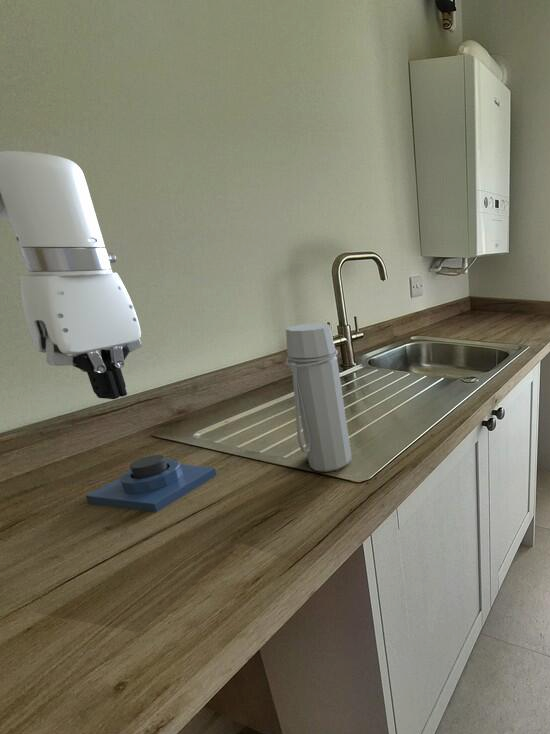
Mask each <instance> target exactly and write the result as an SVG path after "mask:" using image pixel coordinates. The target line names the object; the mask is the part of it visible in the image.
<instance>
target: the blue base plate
mask: <svg viewBox="0 0 550 734" xmlns="http://www.w3.org/2000/svg"><path fill="white" fill-rule="evenodd" d="M165 461H166V464H167V467H168V469H167V470H166V471H164V472H162V473H160V474H158V475H155V476H152V477H148V478H141V479H134V477H133V474H132V471H131V469H129V470H126V471H125V472H123V474H122V475H121V476H119V478H118V479H116V480H114V481H112V482H110V483H108V484H105V485H103V486H102V487H100V488H98V489H96V490H93V491H92V492H90V493H88V494H85V498H86V501H87V503H88V504H89V505H96V506H103V507H104V506H106V507H114V508H120V509H130V510H137V511H145V512H153V513H158V512H159V511H161V510H162V509H165V508H166V507H168V506H169V505H171V504H172V503H174V502H176V501H177V500H179V499H181V498H182V497H184V496H185V495H187V494H188V493H190V492H192V491H194V490H195V489H197V488H199V487H200V486H202V485H204V484H205V483H207V482H208V481H210V480H212V479H213V478H215V477H216V476H217V475H218V474H217V470H216V468H215V467H209V466H199V465H189V464H181V463H180V462H179V461H178V460H177V459H169V458H167V459H166V458H165Z"/></svg>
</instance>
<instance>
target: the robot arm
mask: <svg viewBox="0 0 550 734" xmlns="http://www.w3.org/2000/svg"><path fill="white" fill-rule="evenodd" d="M87 183H88V182H87V180H86V178H85V174H84V172H83V170H82V168H81V167H80V166H79V165H78V164H77V163H76V162H75V161H73V160H71V159H68V158H67V157H63V156H59V155H54V154H49V153H43V152H35V151H23V150H2V151H0V221H9V222H10V224H11V226H12V230H13V233H14V235H15V238H16V241H17V243H18V246H19V249H20V252H21V255H22V258H23V260H24V261H23V262H24V263H25V266H26V269H27V272H28V274H23V275H20V295H21V297H20V298H21V304H22V308H23V313H24V318H25V321H26V325H27V329H28V332H29V336H30V338H31V342H32V344H33V347H34V348H35V349H36V351H38V352H39V353H44V354H45V359H46V360H45V361H46V364H48V365H49V366H59V367H60V366H61V367H62V366H72V367H75V368H77V369H79V370H80V371H81V372H83V373H86V375H87V377H88V379H89V383H90V385H91V388H92V391H93V393H94V394H95V395H96V397H97V398H98V399H105V400H117V399H119V398H120V397H121V398H122V397H126V396H127V395H128V392H127V389H126V382H125V377H124V375H123V372H122V369H123V368H124V367H125V360H126V359H127V357H128V355H129V354H130V353H132V352H135V351H137V350H138V349H140V348H142V346H143V343H142V341H141V337H142V330H141V326H140V325H141V324H140V322H139V319H138V315H137V312H136V309H135V307H134V304H133V302H132V299H131V297H130V295H129V293H128V291H127V288H126V287H125V284H124V283H123V280H122V279H121V277H120V275H119V274H118V272H116V271H115V272H114V271H113V269H112V265H111V264H113V263H114V264H115V263H117V256H116V255H115V254H114V253H113V252H107V248H106V246H105V241H104V238H103V234H102V231H101V228H100V225H99V221H98V218H97V214H96V210H95V208H94V203H93V200H92V196H91V194H90V191H89V185H88V184H87Z"/></svg>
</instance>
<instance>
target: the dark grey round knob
mask: <svg viewBox="0 0 550 734" xmlns="http://www.w3.org/2000/svg"><path fill="white" fill-rule="evenodd" d="M165 460H166V458H165V455H163V454H152V455H148V456H144V457H140V458H138V459H136V460H134V461H133V462H131V463H130V465H129V468H130V470H131V471H132V474H133V477H134V479H141V478H148V477H152V476H155V475H158V474H160V473H162V472H164V471H166V470H167V469H168V467H167V464H166V461H165Z"/></svg>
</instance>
